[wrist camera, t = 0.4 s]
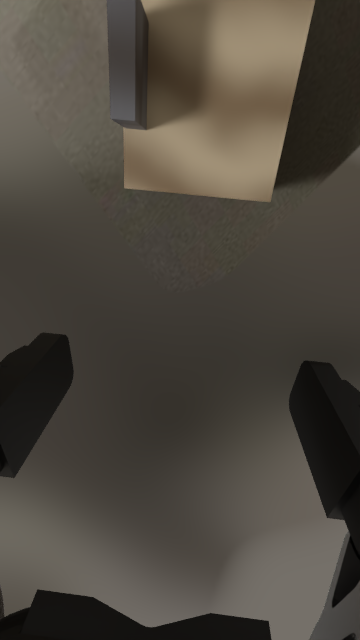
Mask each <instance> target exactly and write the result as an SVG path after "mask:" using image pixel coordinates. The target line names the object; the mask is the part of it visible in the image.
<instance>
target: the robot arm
mask: <svg viewBox="0 0 360 640" xmlns="http://www.w3.org/2000/svg"><path fill="white" fill-rule="evenodd" d="M73 372H74V371H73V364H72V357H71V351H70V345H69V340H68V337H67V336H66V335H62V334H52V333H41V334H40V335H38V336H37V337H36V339H34V341H32V342H31V344H29V345H28V346H23V347H21V348H19V349H17V350H15V351H13V352H12V353H10V354H8V355H7V356H6V357H5V358H4V359H3V360H2V361H1V362H0V476H3V477H11V478H14V477H15V476H16V474H17V473H18V471H19V470H20V468H21V466H22V465H23V463H24V461H25V460H26V458H27V456H28V455H29V453H30V451H31V450H32V448H33V447H34V445H35V443H36V442H37V440H38V439H39V437H40V435H41V434H42V432H43V430H44V429H45V427H46V425H47V424H48V422H49V420H50V419H51V417H52V415H53V414H54V412H55V411H56V409H57V407H58V406H59V404H60V403H61V401H62V399H63V398H64V396H65V394H66V393H67V391H68V389H69V388H70V386H71V383H72V380H73ZM289 409H290V413H291V416H292V419H293V422H294V424H295V427H296V430H297V433H298V436H299V439H300V442H301V444H302V447H303V450H304V453H305V456H306V459H307V462H308V465H309V467H310V470H311V473H312V476H313V479H314V482H315V484H316V487H317V490H318V493H319V496H320V499H321V502H322V505H323V507H324V510H325V513H326V516H327V518H333V519H340V520H345V523H346V525H347V528H348V530H349V531H348V532H347V534H346V535H345V538H344V541H343V545H342V548H341V551H340V555H339V558H338V562H337V565H336V569H335V572H334V575H333V579H332V582H331V586H330V589H329V592H328V596H327V599H326V603H325V606H324V609H323V611H322V614H321V616H320V618H319V620H318V622H317V624H316V626H315V628H314V630H313V632H312V634H311V636H310V639H309V640H360V392H359V391H358V390H357V389H356V388H355V387H354V386H352V385H351V384H350V383H349V382H348V381H346V380H341V378H340V377H339V375H338V373H337V372H336V370H335V369H334V367H333V366H332V365H331V364H330V363H326V362H316V361H304V362H303V363H302V364H301V366H300V369H299V372H298V374H297V377H296V380H295V382H294V385H293V388H292V391H291V393H290V398H289ZM0 640H271V634H270V627H269V621H264V620H257V619H249V618H241V617H234V616H227V615H220V614H212V613H210V614H206V615H202V616H198V617H194V618H190V619H185V620H181V621H177V622H173V623H169V624H165V625H161V626H158V627H152V628H150V627H145V626H143V625H141V624H139V623H137V622H136V621H134V620H132V619H130V618H129V617H127V616H125V615H123V614H122V613H120V612H118V611H116V610H115V609H113V608H111V607H109V606H108V605H106V604H104V603H102V602H101V601H99V600H97V599H95V598H94V597H88V596H81V595H73V594H66V593H59V592H51V591H44V590H37V592H36V594H35V597H34V600H33V602H32V604H31V607H29V608H25V609H22V610H20V611H17V612H15V613H12V614H9V615H8V616H6V617H4V604H3V596H2V591H1V586H0Z"/></svg>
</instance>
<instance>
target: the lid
mask: <svg viewBox="0 0 360 640" xmlns="http://www.w3.org/2000/svg"><path fill="white" fill-rule="evenodd" d="M314 4H315V0H107V20H108V52H109V83H110V115H111V119H112V120H113V121H115V122H117V123H118V124H120V125H121V126H123V127H124V188H129V189H139V190H149V191H160V192H170V193H180V194H191V195H201V196H211V197H222V198H232V199H242V200H253V201H263V202H270V201H271V197H272V192H273V188H274V183H275V179H276V174H277V170H278V165H279V161H280V156H281V152H282V147H283V143H284V138H285V134H286V129H287V125H288V121H289V116H290V112H291V107H292V103H293V98H294V94H295V89H296V85H297V80H298V76H299V71H300V67H301V62H302V58H303V53H304V49H305V44H306V40H307V35H308V31H309V26H310V22H311V18H312V13H313V9H314Z"/></svg>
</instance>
